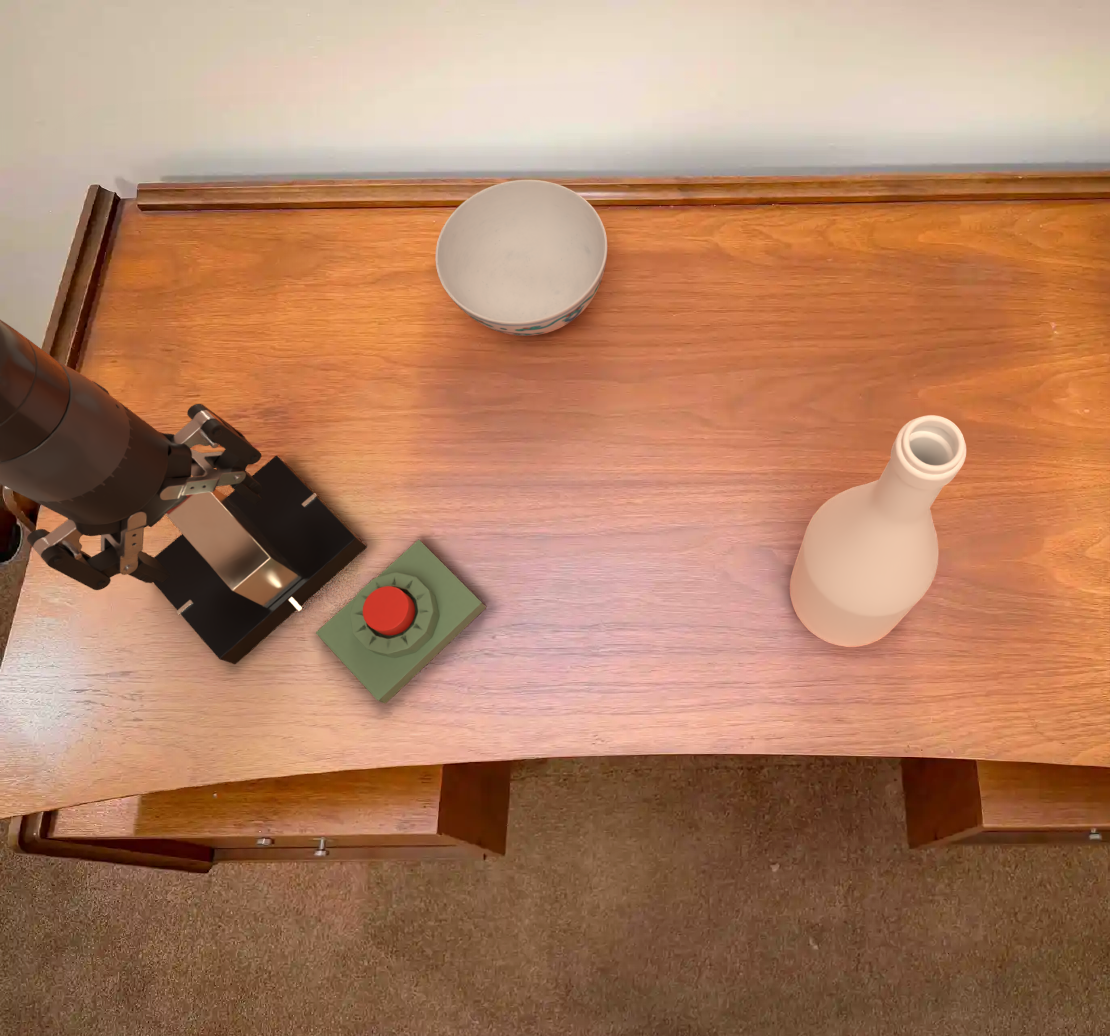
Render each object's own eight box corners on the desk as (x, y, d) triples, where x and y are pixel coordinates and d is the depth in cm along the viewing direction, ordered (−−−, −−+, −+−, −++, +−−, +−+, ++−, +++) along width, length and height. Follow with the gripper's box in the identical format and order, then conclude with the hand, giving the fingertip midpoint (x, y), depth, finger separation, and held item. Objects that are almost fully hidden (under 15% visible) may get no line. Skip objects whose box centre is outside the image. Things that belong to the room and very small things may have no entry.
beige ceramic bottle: (792, 651, 71) (849, 532, 43) (785, 540, 74) (834, 362, 46) (908, 648, 71) (1042, 527, 43) (896, 538, 74) (1014, 357, 46)
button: (390, 645, 69) (382, 640, 67) (361, 614, 69) (352, 609, 68) (424, 612, 69) (417, 607, 68) (395, 582, 70) (388, 576, 69)
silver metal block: (302, 577, 71) (269, 556, 66) (267, 608, 70) (230, 590, 65) (231, 499, 74) (193, 472, 68) (195, 528, 73) (154, 503, 67)
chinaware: (427, 321, 82) (400, 272, 75) (520, 211, 86) (503, 154, 79) (556, 396, 79) (541, 352, 72) (646, 277, 83) (640, 225, 76)
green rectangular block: (385, 704, 70) (369, 698, 67) (323, 637, 72) (305, 627, 69) (486, 607, 73) (476, 597, 69) (424, 545, 75) (411, 532, 71)
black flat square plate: (245, 679, 71) (229, 673, 68) (146, 565, 74) (127, 555, 72) (380, 558, 74) (368, 548, 72) (279, 454, 78) (265, 441, 75)
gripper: (-10, 566, 49) (158, 631, 64) (198, 401, 53) (311, 500, 68) (-78, 482, 51) (101, 565, 66) (128, 328, 54) (252, 440, 70)
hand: (207, 532), depth 67 cm, fingers open, 8 cm apart
